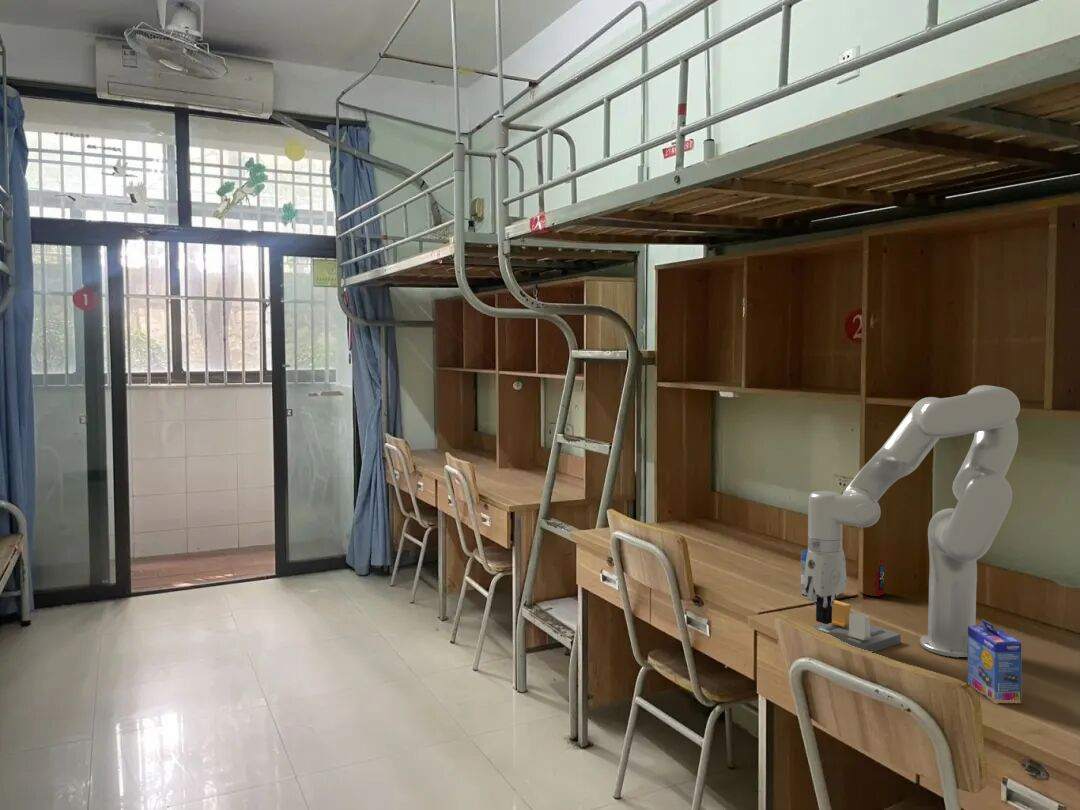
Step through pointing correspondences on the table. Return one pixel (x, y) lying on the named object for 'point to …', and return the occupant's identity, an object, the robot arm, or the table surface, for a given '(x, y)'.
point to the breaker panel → (875, 643)
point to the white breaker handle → (859, 626)
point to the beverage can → (879, 580)
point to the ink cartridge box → (994, 662)
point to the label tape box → (803, 570)
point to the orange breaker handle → (840, 613)
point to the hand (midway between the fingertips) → (823, 622)
